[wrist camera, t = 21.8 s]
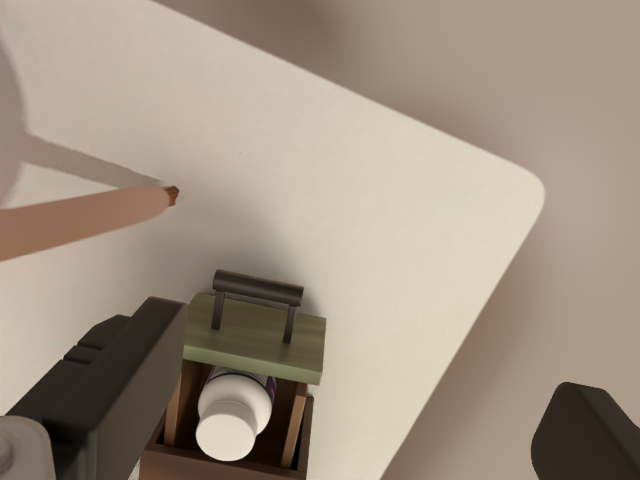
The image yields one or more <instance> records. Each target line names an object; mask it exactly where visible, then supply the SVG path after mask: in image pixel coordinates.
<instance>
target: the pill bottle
mask: <svg viewBox="0 0 640 480" xmlns="http://www.w3.org/2000/svg"><path fill="white" fill-rule="evenodd" d="M278 379H279V378H277V377H272V376H267V375H262V374H257V373H252V372H247V371H242V370H237V369H232V368H227V367H222V366H217V365H214V367H213V369H212V371H211V373H210V376H209V378H208V380H207V382H206V384H205V386H204V388H203V391H202V393H201V395H200V398H199V403H198V411H199V416H200V418H201V419H200V421H199V424H198V427H197V430H196V439H197V442H198V445H199V446H200V448H201V449H202V450H203V451H204V452H205V453H206V454H207V455H209V456H211V457H213V458H215V459H218V460H222V461H233V460H238V459H241V458H243V457H244V456H246V455H247V454H248V453H249V452H250V451H251V449H252V447H253V445H254V442H255V438H256V435H257V434H259V433H260V432H261V431H262V430H263V429H264V428H265V427H266V425H267V423H268V421H269V419H270V415H271V412H272V407H273V402H274V398H275V393H276V388H277V384H278Z"/></svg>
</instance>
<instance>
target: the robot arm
mask: <svg viewBox="0 0 640 480" xmlns="http://www.w3.org/2000/svg"><path fill="white" fill-rule="evenodd" d="M187 317H188V306H187V304H186V303H182V302H177V301H172V300H167V299H162V298H157V297H153V296H151V297H149V298H148V299H147V300H146V301H145V302H144V303H143V304H142V305H141V306H140V308H139V309H138V310H137V311H136V312H135V313H134V314H133V315H132V317H128V316H123V315H116V316H114V317H112V318H110V319H107V320H105V321H103V322H101V323H99V324H97V325H95V326H94V327H93V328H92V329H91V330H89V331H88V332H87V333H86V334H85V335H84V336H83V337H82V338H81V339H80V340H79V341H78V344H77V346H75V345H74V346H73V347H72V348H71V349H70V350H69V351H68V352H67V353H66V354H65V355H64V358H63V360H59V361H58V362H57V363H56V364H55V365H54V366H53V367H52V368H51V369H50V370H49V371H48V372H47V373H46V374H45V375H44V376H43V377H42V378H41V379H40V380H39V381H38V382H37V383H36V384H35V385H34V386H33V387H32V388H31V389H30V390H29V391H28V392H27V393H26V394H25V395H24V396H23V397H22V398H21V399H20V400H19V401H18V402H17V403H16V404H15V405H14V406H13V407H12V408H11V409H10V410H9V411H8V412H7V413H6V414H5V415H4V416H0V480H128V478H129V476H130V475H131V473H132V471H133V469H134V467H135V465H136V463H137V461H138V460H139V458H140V456H141V454H142V452H143V450H144V448H145V447H146V445H147V443H148V441H149V439H150V437H151V435H152V433H153V432H154V430H155V428H156V426H157V424H158V422H159V420H160V419H161V417H162V415H163V413H164V411H165V409H166V407H167V406H168V404H169V402H170V400H171V398H172V396H173V394H174V392H175V389H176V387H177V384H178V380H179V377H180V373H181V368H182V361H183V352H184V343H185V334H186V325H187ZM531 459H532V464H533V467H534V470H535V472H536V474H537V476H538V478H539V480H640V428H639V427H637V426H636V425H635V424H634V423H633V422H632V421H631V420H630V419H629V417H628V416H627V415H626V414H625V413H624V412H623V410H622V409H621V408H620V407H619V406H618V404H617V403H616V402H615V401H614V399H613V398H612V397H611V396H610V395H609V394H608V393H607V392H606V391H605V390H603V389H600V388H594V387H590V386H585V385H580V384H575V383H570V382H563V383H561V384H560V385H559V386H558V387H557V388H556V390H555V392H554V394H553V396H552V399H551V400H550V403H549V405H548V407H547V409H546V411H545V413H544V415H543V418H542V419H541V422H540V424H539V426H538V428H537V430H536V432H535V434H534V437H533V440H532V445H531Z"/></svg>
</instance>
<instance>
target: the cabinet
mask: <svg viewBox="0 0 640 480" xmlns="http://www.w3.org/2000/svg"><path fill="white" fill-rule="evenodd" d="M313 403H314V398H313V397H308V396H306V401H305V406H304V410H303V414H302V419H301V423H300V428H299V432H298V436H297V441H296V445H295V450H294V454H293V458H292V463H291V467H290V470H289V469H284V468H279V467H274V466H269V465H263V464H258V463H253V462H248V461H243V460H233V461H222V460H218V459H215V458H213V457H211V456H209V455H207V454H206V453H202V452H197V451H191V450H186V449H181V448H176V447H171V446H166V445H163V444H164V434H165V424H166V414H167V407H166V409H165V411H164V413H163V415H162V417H161V419H160V420H159V422H158V424H157V426H156V428H155V430H154V432H153V433H152V435H151V437H150V439H149V441H148V443H147V445H146V447H145V448H144V450H143V452H142V454H141V458H140V470H139V480H306V476H307V466H308V455H309V445H310V434H311V424H312V413H313Z"/></svg>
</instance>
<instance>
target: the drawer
mask: <svg viewBox="0 0 640 480" xmlns="http://www.w3.org/2000/svg"><path fill="white" fill-rule="evenodd" d="M213 289H214V290H216V294H215V296H212V295H207V294H202V293H197V294H196V295H195V297H194V298H193V299H192V301H191V302H190V304H189V305H188V317H187V325H186V334H185V343H184V352H183V361H182V368H181V373H180V377H179V380H178V384H177V387H176V389H175V392H174V394H173V396H172V398H171V400H170V402H169V404H168V406H167V414H166V424H165V434H164V444H163V445H166V446H171V447H176V448H181V449H186V450H191V451H197V452H202V453H205V452H204V451H203V450H202V449H201V448H200V446H199V445H198V442H197V439H196V430H197V427H198V424H199V421H200V419H201V418H200V416H199V411H198V403H199V398H200V395H201V393H202V391H203V388H204V386H205V384H206V382H207V380H208V378H209V376H210V373H211V371H212V369H213V367H214V365H217V366H222V367H227V368H232V369H237V370H242V371H247V372H252V373H257V374H262V375H267V376H272V377H277V378H279V379H278V384H277V388H276V393H275V398H274V402H273V407H272V412H271V415H270V419H269V421H268V423H267V425H266V427H265V428H264V429H263V430H262V431H261V432H260V433H259V434H257V435H256V438H255V442H254V445H253V447H252V449H251V451H250V452H249V453H248V454H247V455H246V456H244V457H243V458H241V459H238V460H243V461H248V462H253V463H258V464H263V465H269V466H274V467H279V468H284V469H289V470H290V467H291V463H292V458H293V454H294V450H295V445H296V441H297V436H298V432H299V428H300V423H301V419H302V414H303V410H304V406H305V401H306V396H307V388H308V384H313V385H318V386H319V385H320V380H321V376H322V370H323V357H324V344H325V330H326V318H322V317H317V316H312V315H307V314H302V313H297V307H298V306H299V307H300V306H301V301H302V296H303V291H304V287H303V286H298V285H293V284H289V283H284V282H279V281H274V280H269V279H264V278H259V277H254V276H249V275H244V274H239V273H234V272H229V271H224V270H219V269H218V270H217V271H216V273H215V275H214V279H213ZM225 292H229V293H234V294H239V295H244V296H249V297H254V298H259V299H264V300H269V301H274V302H279V303H284V304H289V310H288V311H287V310H282V309H277V308H272V307H267V306H262V305H257V304H252V303H247V302H242V301H237V300H232V299H227V298H224V297H225Z"/></svg>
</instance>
